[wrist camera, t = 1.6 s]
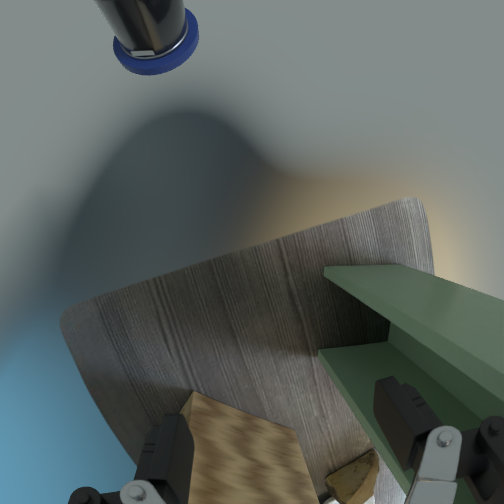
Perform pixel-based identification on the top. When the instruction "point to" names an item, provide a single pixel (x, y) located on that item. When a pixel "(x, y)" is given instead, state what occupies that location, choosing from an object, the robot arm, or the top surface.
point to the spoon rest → (332, 503)
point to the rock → (354, 480)
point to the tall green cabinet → (422, 352)
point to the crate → (243, 458)
